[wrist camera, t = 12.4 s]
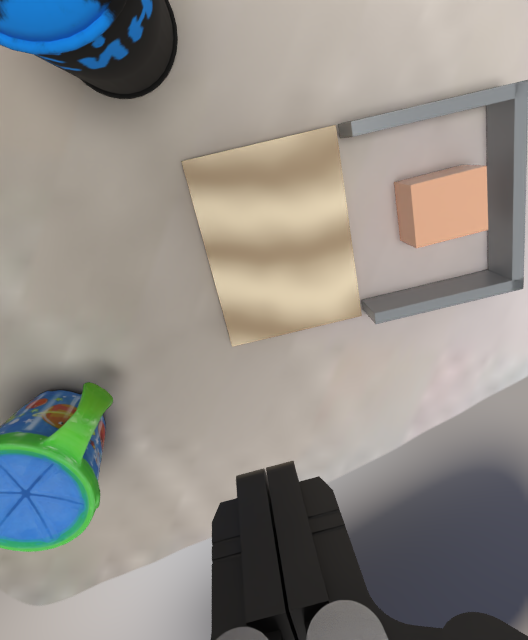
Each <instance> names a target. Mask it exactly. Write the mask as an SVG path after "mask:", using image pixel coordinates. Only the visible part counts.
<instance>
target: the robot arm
mask: <svg viewBox="0 0 528 640" xmlns="http://www.w3.org/2000/svg"><path fill="white" fill-rule="evenodd" d="M266 471H267V475H266V472H265V469H260V470H256V471H253V472H249V473H245V474H241V475H237V476H236V485H237V498H236V499H233V500H229V501H225V502H221V503H220V505H219V507H218V509H217V512H216V514H215V516H214V519H213V521H212V545H213V547H212V562H213V564H212V634H211V640H528V636H526V635H525V634H523V633H521V632H519V631H518V630H516V629H515V628H513V627H511V626H509V625H508V624H506V623H505V622H503V621H501V620H499V619H497V618H495V617H493V616H490V615H487V614H484V613H479V612H468V613H463V614H459V615H457V616H455V617H453V618H452V619H451V620H450V621H448V622H447V623H446V625H445V626H444V628H443V629H442V628H433V627H422V626H414V625H408V624H404V623H402V622H399V621H397V620H394V619H393V618H391V617H389V616H388V615H386V614H385V613H384V612H383V611H382V610H381V609H379V608H378V606H377V605H376V604H375V603H374V602H373V600H372V598H371V597H370V595H369V593H368V590H367V588H366V585H365V582H364V579H363V576H362V573H361V570H360V568H359V565H358V562H357V559H356V556H355V553H354V551H353V547H352V544H351V542H350V539H349V536H348V533H347V530H346V528H345V524H344V521H343V519H342V516H341V513H340V510H339V507H338V504H337V501H336V498H335V495H334V493H333V490H332V489H331V488H330V487H329V486H328V485H327V484H326V483H325V482H324V481H323V480H322V479H321V478H320V477H315V478H312V479H308V480H304V481H300V482H299V480H298V476H297V473H296V469H295V465H294V461H290V462H286V463H283V464H279V465H275V466H271V467H267V468H266Z"/></svg>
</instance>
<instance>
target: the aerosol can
mask: <svg viewBox="0 0 528 640" xmlns="http://www.w3.org/2000/svg"><path fill="white" fill-rule="evenodd" d="M177 40H178V39H177V26H176V22H175V18H174V14H173V11H172V8H171V6H170V4H169V1H168V0H0V45H2V46H5V47H7V48H9V49H12V50H16V51H21V52H25V53H30V54H34V55H36V56H38V57H40V58H41V59H43V60H45V61H47V62H49V63H51V64H53V65H55V66H57V67H59V68H61V69H63V70H65V71H67V72H69V73H71V74H73V75H74V76H76V77H78V78H80V79H81V80H82V81H83V82H84V83H85V84H86V85H88V86H89V87H91V88H92V89H94V90H95V91H97V92H99V93H102V94H104V95H106V96H109V97H114V98H119V99H131V98H136V97H140V96H143V95H145V94H147V93H149V92H151V91H153V90H154V89H155V88H156V87H158V86H159V85H160V84H161V83H162V82H163V80H164V79H165V78H166V77H167V75H168V73H169V71H170V69H171V67H172V65H173V63H174V59H175V55H176V51H177Z"/></svg>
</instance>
